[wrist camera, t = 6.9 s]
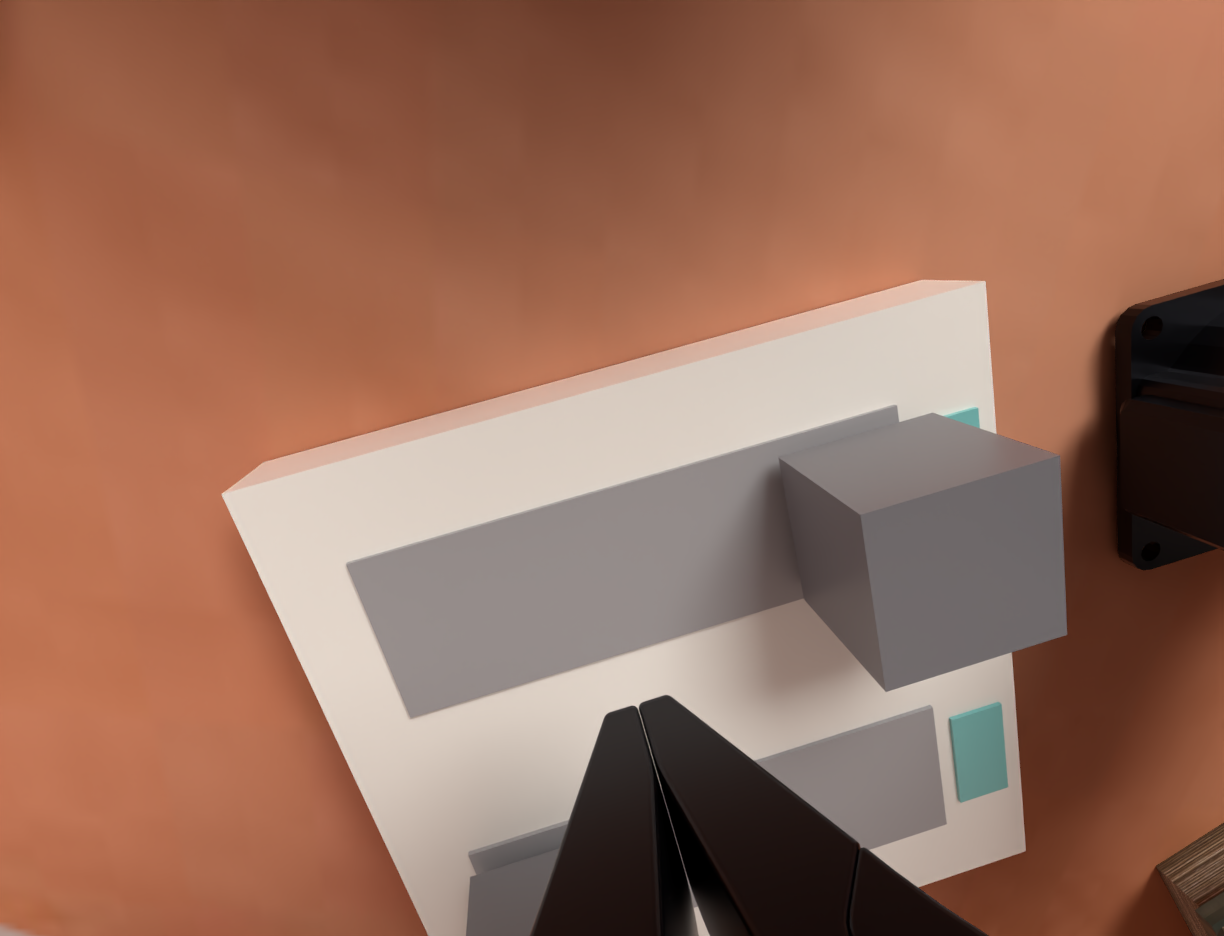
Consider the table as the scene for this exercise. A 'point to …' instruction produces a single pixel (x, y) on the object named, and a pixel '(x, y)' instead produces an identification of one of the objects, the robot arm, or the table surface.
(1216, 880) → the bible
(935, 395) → the switch panel
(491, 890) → the tab
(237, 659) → the table surface
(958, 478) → the tab
